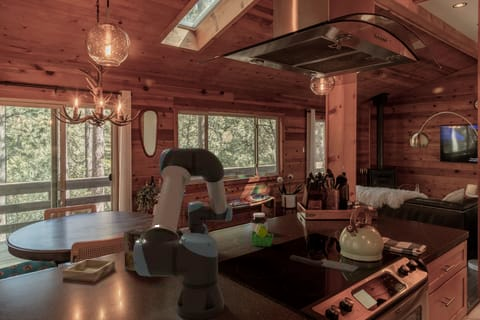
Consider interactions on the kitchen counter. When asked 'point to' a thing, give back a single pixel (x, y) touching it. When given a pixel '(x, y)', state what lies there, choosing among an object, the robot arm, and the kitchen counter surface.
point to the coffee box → (131, 246)
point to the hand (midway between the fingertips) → (139, 247)
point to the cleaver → (325, 264)
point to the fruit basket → (262, 237)
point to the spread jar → (258, 221)
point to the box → (88, 270)
